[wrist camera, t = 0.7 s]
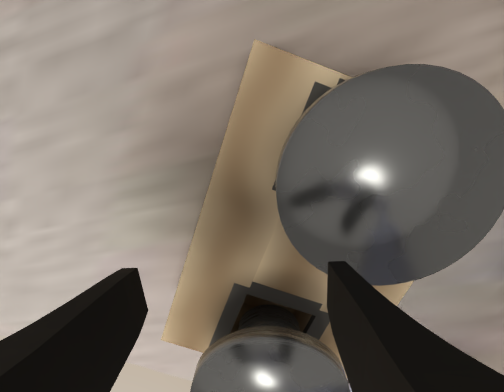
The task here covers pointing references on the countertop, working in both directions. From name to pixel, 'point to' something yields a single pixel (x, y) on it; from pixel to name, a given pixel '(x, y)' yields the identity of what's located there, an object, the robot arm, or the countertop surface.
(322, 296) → the block
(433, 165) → the peg
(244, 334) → the peg
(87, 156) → the countertop surface
